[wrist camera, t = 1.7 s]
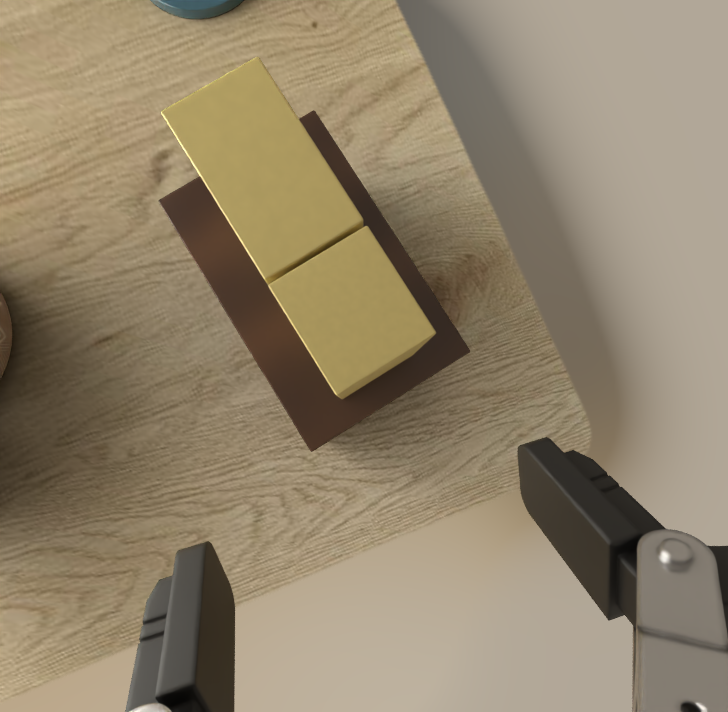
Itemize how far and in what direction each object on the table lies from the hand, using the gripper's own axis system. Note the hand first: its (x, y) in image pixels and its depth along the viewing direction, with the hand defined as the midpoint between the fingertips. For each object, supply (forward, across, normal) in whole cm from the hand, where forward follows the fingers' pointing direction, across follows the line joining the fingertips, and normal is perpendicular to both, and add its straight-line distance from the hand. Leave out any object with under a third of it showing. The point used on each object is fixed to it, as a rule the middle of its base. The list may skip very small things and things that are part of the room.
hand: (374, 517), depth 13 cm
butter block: (+19, 0, -4) cm, 19 cm away
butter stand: (+26, -2, +4) cm, 26 cm away
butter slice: (+15, -2, +2) cm, 15 cm away
